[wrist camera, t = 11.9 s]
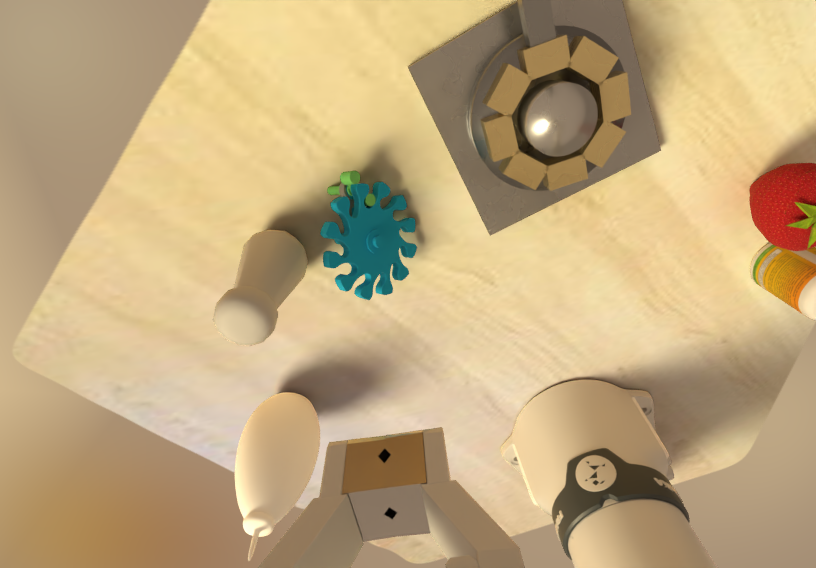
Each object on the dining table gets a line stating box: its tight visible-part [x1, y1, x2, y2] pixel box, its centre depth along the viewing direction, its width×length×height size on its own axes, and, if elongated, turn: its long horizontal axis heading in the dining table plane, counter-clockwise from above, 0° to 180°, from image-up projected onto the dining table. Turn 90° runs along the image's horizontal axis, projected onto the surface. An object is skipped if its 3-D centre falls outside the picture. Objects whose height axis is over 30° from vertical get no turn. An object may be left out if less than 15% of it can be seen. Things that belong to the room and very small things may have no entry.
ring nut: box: [480, 0, 631, 191], centre depth 30 cm, size 10×18×6 cm, turn 19°
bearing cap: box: [408, 0, 661, 235], centre depth 35 cm, size 16×16×6 cm
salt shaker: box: [213, 229, 308, 346], centre depth 37 cm, size 6×6×13 cm
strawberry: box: [750, 163, 816, 251], centre depth 37 cm, size 6×8×10 cm
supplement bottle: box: [750, 243, 816, 321], centre depth 41 cm, size 5×5×10 cm
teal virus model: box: [320, 171, 417, 300], centre depth 40 cm, size 11×6×10 cm
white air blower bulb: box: [235, 392, 320, 561], centre depth 44 cm, size 8×8×18 cm
